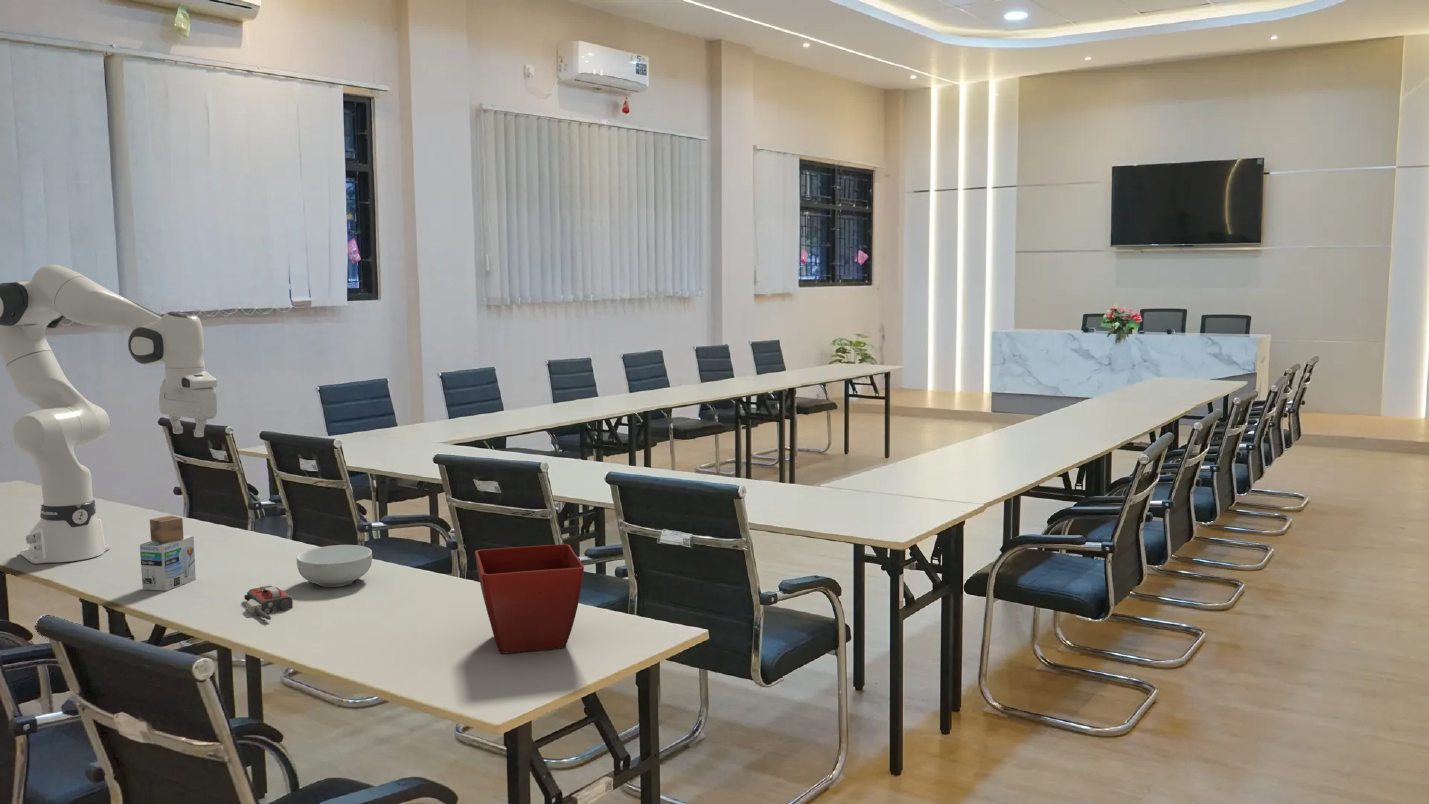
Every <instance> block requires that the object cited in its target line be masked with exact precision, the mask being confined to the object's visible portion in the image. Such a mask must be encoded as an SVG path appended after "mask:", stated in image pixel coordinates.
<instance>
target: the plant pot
mask: <svg viewBox="0 0 1429 804" xmlns="http://www.w3.org/2000/svg"><path fill="white" fill-rule="evenodd" d="M474 555H475V562H476V567H477V574H478V578H479V579H478V580H479V584H480V588H481V589H480V590H481V593H482V597H483V601H484V605H485V606H484V607H485V608H486V609H485V610H486V613H487V615H488V620H489V623H490V626H491V630H492V634H493V637H494V641H495V645H496V646H497V650H498V653H500V654H512V653H514V654H515V653H523V652H525V653H526V652H533V651H535V652H536V651H543V650H544V651H545V650H554V649H555V650H557V649H564V648H565V647H566V646H567V645H568V641H569V639H570V635H571V633H572V629H573V626H574V622H575V619H576V615H577V611H578V607H579V606H578V605H579V601H580V598H581V597H580V596H581V593H582V592H581V591H582V586H583V579H584V572H585V571H584V570H585V566H584V565H583V563H582V562H581V560H580V559H579V557H578V556H577V553H575V551H574V549H573V547H572V546H571V545H570V544H567V543H564V544H545V545H533V546H532V545H531V546H518V547H517V546H514V547H502V548H501V547H500V548H489V549H488V548H487V549H485V548H484V549H478V550H477V549H476V550H475V551H474Z"/></svg>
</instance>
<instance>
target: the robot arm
mask: <svg viewBox="0 0 1429 804" xmlns="http://www.w3.org/2000/svg"><path fill="white" fill-rule="evenodd" d="M65 319H67V320H70V321H72V322H75V323H77V324H80V325H84V326H90V327H92V326H93V327H115V328H116V327H117V328H125V329H129V330H132V331H131V333H130V334H129V336H128V341H127V346H128V347H127V348H128V352H129V354H130V355H131V357H132V359H134V360H135V361H136V362H137V363H139V364H142V365H149V366H151V365H152V366H153V365H163V364H164V376H165V377H164V379H163V381H162V383H161V384H162V385H160V388H159V393H158V394H159V395H158V410H159V413H160V414H162V415H168V416H169V417H168V420H169V422H170V423H171V427H172V433H173V434H177V435H180V434H183V433H184V426H182V425H181V421H180V419H181V418H189V419H194V422H195V429H193V437H195V438H203V437H205V429H206V425H207V420H213V419H215V418H216V416H217V414H218V397H217V396H218V395H217V390H216V389H215V388H217V386H218V381H217V380H218V379H216V377H214V376H213V375H211V374H210V373H209V372H208V371H206V364H205V363H206V362H205V360H204V351H205V338H204V329H203V325H202V324H203V323H202V321H201V319H200V317H199V316H198V315H196V314H194V313H190V312H186V311H175V310H174V311H169V312H166V313H165V314H164V315H163V316H162V315H160V314H159V313H157V312H154V311H153V310H150V309H148V308H147V307H145V306H142V305H141V304H139V303H137V302H134V301H132V300H129V299H127V298H125V297H124V296H122V295H120V294H117V293H116V292H113V291H112V290H110V289H108V288H106V287H104V286H103V285H100V284H99V283H97V282H96V281H94V280H92V279H91V278H90V277H87V276H85V275H83V274H82V273H80V272H78V271H76V270H73V269H70V268H69V267H65V266H63V265H59V264H54V263H52V264H46V265H44V266H41V267H40V268H38V269H37V270H36V272H34V274H33V276H32V278H31V280H30V279H28V280H27V279H26V280H22V281H14V282H0V357H1V360H2V362H3V365H4V367H5V369H6V371H7V373H8V375H9V377H10V380H11V381H12V384H13V385H14V387H15V389H16V392H17V393H18V394H19V396H21V398H23V399H24V400H27V401H29V402H31V403H33V404H35V405H36V406H37V407H38V408H40V409H37V410H34V411H31V412H29V413H27V414H25V415H22V416H20V417H19V418H18V419H16V421H15V422H14V424H13V427H12V437H13V441H14V443H15V445H17V447H18V448H19V449H20V450H21V451H23V452H25V453H27V454H28V455H29V457H30V458H31V459H32V461H33V463H34V464H35V466H36V468H37V470H38V475H39V477H40V483H41V484H40V485H41V492H42V503H43V504H41V505H40V507H41V508H40V511H39V512H40V515H39V517H40V520H39V521H38V522H37V523H36V525H35V526H34V527H33V528H32V529H31V530H30V532H29V534H27V535H26V536H25V540H26V541H25V542H26V544H28V545H29V547H26V548H23V549H20V551H19V554H20V555H21V556H22V557H23V558H25V560H27V561H29V562H30V563H31V564H44V563H66V562H68V563H69V562H74V561H75V562H76V561H83V560H87V559H91V558H95V557H98V556H101V555H103V554H104V552H106V551H109V550H110V549H111V546H110V544H106V543H105V536H104V530H103V523H102V519H100V518H98V517H97V516H96V513H97V510H96V508H97V506H96V502H95V501H96V500H94V497H93V496H94V495H93V482H92V473H91V470H90V469H89V468H88V467H87V466H85V465H83V464H81V463H80V462H79V461H78V458H77V456H76V453H75V448H80V447H85V446H88V445H89V446H90V445H91V444H94V443H97V442H99V441H100V440H102V439H103V438H105V437H106V436H107V435H108V434H109V431H110V427H111V422H110V421H111V419H110V417H109V415H108V413H107V412H106V410H105V409H104V408H102V407H100V406H99V405H97V404H94V403H93V402H91V401H89V400H88V399H86V397H84V395H83V394H82V393H80V391H78V390H77V389H76V388H75V387H74V385H72V383H71V382H70V381H69V380H68V378H67V377H66V375H65V372H63V369H62V367H61V365H60V364H59V362H58V359H57V358H56V356H55V354H54V352H53V350H52V348H51V346H50V343H48V341H47V338H46V333H45V332H46V329H47V328H49V329H55V328H57V327H58V326H59V324H60V323H61V322H63V321H64V320H65Z"/></svg>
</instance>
